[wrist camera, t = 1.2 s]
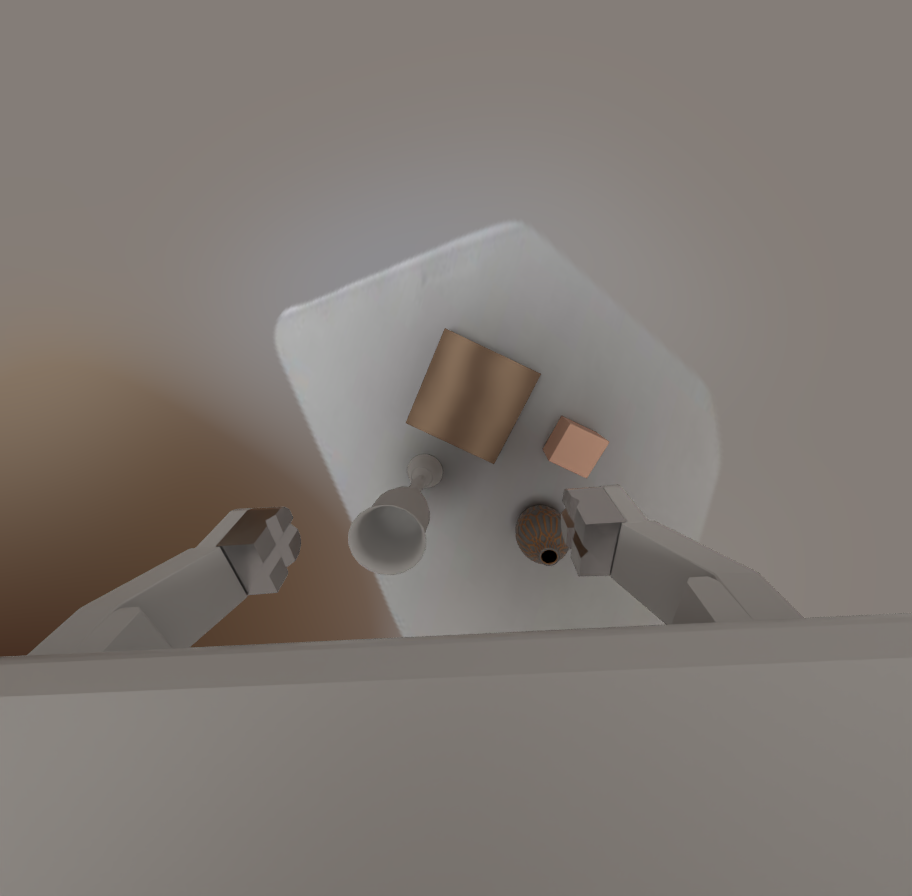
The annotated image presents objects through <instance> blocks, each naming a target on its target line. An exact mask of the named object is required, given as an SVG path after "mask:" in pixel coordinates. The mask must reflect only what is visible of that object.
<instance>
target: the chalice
mask: <svg viewBox="0 0 912 896" xmlns="http://www.w3.org/2000/svg"><path fill="white" fill-rule="evenodd" d="M407 473H408V476H409V479H410V481H411V485H410V486H409V487H399V488H395V489H392V490H388V491H387V492H385V493H383V494H382V495H381V496H380V497H379V498H378V499H377V500H376V502H375V503H374V504H373V506H372V507H371V508H368V509H367V510H365V511H363V512H362V513H360V514H359V515H358V516H357V517H356V519H355V520H354V521H353V522H352V524H351V527H350V530H349V534H348V537H349V538H348V543H349V547H350V549H351V552H352V555H353V556H354V557H355V559H356V560H357V561H358V562H359V564H361V565H362V566H364V567H365V568H366V569H368V570H369V571H372V572H375V573H378V574H382V575H395V574H400V573H404V572H406V571H407V570H409V569H411V568H413V567H414V566H415V565H416V564H417V563H418V562H419V561H420V560H421V558H422V556H423V554H424V551H425V548H426V536H425V532H426V529H427V526H428V524H429V519H430V511H429V508H428V504H427V501H426V499H425V497H424V496H423V495H422V493H421V490H422V489H423V488H430V487H433V486H435V485H437V484H438V483H439V481H440V480H441V478H442V475H443V469H442V466H441V464H440V462H439V461H438V460H437V459H436V458H435V457H433V456H431V455H428V454H421V455H417V456H415V457H414V458H412V460H411V461H410V462H409V464H408V467H407Z"/></svg>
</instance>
